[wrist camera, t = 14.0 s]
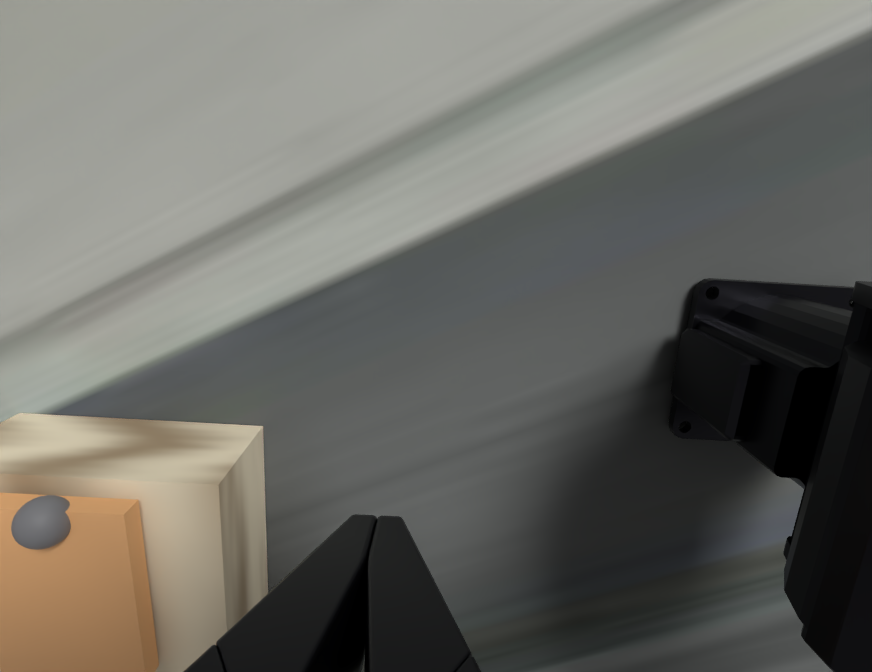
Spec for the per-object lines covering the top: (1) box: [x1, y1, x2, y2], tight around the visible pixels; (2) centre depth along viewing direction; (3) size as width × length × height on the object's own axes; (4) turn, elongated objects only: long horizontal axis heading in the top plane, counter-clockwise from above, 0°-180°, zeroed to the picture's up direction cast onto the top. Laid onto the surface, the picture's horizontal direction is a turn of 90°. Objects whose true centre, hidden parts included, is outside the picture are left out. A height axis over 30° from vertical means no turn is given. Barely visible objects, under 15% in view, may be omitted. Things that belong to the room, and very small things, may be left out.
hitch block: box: [0, 413, 268, 672], centre depth 21 cm, size 10×16×4 cm, turn 177°
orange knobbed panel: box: [0, 493, 159, 672], centre depth 17 cm, size 7×5×2 cm
